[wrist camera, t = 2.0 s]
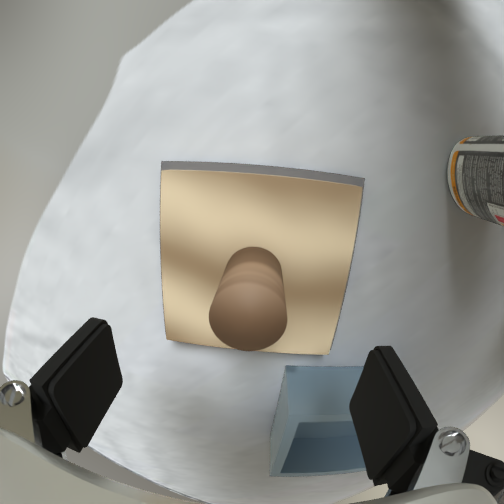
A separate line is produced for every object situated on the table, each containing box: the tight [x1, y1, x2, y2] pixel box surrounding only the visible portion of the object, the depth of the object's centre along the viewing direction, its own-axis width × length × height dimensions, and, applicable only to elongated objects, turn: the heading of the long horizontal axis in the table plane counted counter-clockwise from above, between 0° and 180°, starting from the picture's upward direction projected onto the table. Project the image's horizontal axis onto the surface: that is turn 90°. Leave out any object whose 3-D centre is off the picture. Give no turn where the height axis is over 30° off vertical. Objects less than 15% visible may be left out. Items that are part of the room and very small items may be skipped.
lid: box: [160, 170, 363, 355], centre depth 14 cm, size 11×11×6 cm
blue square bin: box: [270, 366, 366, 477], centre depth 19 cm, size 10×10×5 cm
